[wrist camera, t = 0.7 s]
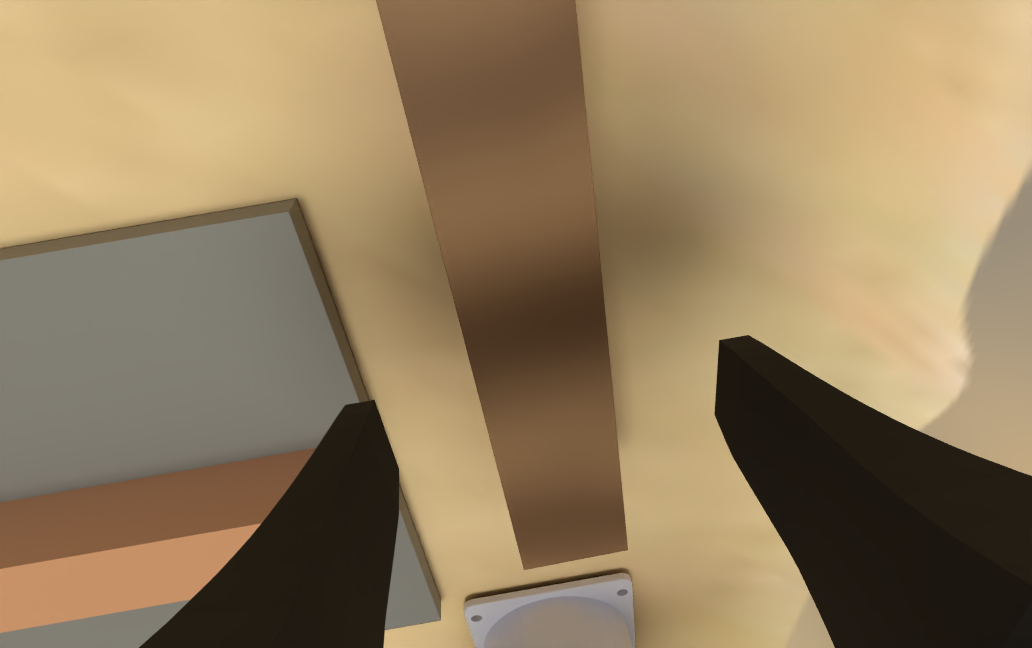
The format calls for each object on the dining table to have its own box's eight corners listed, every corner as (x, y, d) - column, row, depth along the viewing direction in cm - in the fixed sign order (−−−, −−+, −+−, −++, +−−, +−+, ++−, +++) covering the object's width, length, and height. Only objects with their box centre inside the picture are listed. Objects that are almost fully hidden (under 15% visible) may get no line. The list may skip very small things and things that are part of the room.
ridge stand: (440, 599, 28) (440, 689, 24) (-24, 681, 27) (-90, 783, 24) (296, 198, 17) (258, 260, 13) (-473, 328, 17) (-707, 424, 13)
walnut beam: (595, 443, 24) (627, 549, 19) (510, 460, 24) (524, 569, 19) (527, -101, 14) (562, -125, 10) (382, -73, 14) (354, -84, 10)
